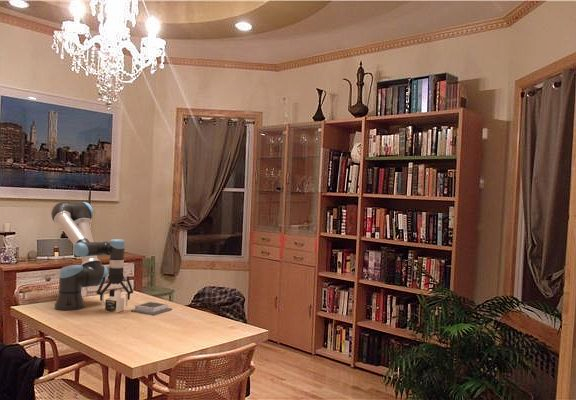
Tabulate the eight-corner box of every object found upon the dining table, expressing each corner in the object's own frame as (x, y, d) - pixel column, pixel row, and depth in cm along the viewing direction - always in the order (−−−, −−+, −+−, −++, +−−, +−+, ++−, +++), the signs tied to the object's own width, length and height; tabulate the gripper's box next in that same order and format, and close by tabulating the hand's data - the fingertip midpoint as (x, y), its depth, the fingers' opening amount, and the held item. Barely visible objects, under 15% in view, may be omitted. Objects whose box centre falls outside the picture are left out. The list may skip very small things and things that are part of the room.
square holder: (130, 311, 262) (131, 305, 262) (149, 306, 276) (149, 300, 276) (154, 315, 255) (154, 309, 255) (172, 309, 270) (172, 304, 270)
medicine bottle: (104, 311, 259) (105, 290, 259) (113, 309, 265) (114, 288, 265) (115, 313, 256) (116, 291, 257) (123, 310, 263) (124, 289, 263)
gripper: (93, 268, 253) (91, 308, 253) (139, 267, 262) (137, 306, 262) (93, 266, 260) (91, 305, 260) (138, 266, 269) (136, 303, 269)
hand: (114, 306), depth 261 cm, fingers open, 12 cm apart
